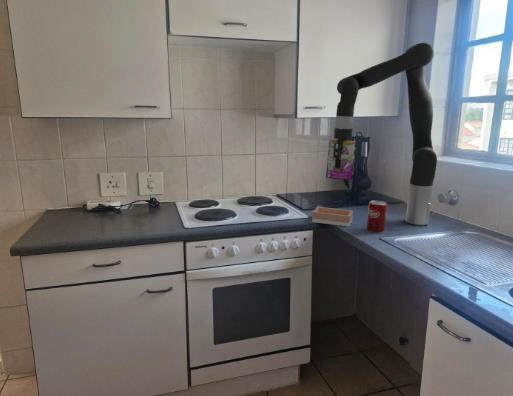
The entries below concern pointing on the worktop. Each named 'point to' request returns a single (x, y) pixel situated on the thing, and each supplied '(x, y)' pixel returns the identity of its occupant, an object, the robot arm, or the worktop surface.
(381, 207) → the soda can
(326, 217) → the tan flat open box
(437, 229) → the worktop surface
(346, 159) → the candy bar box
